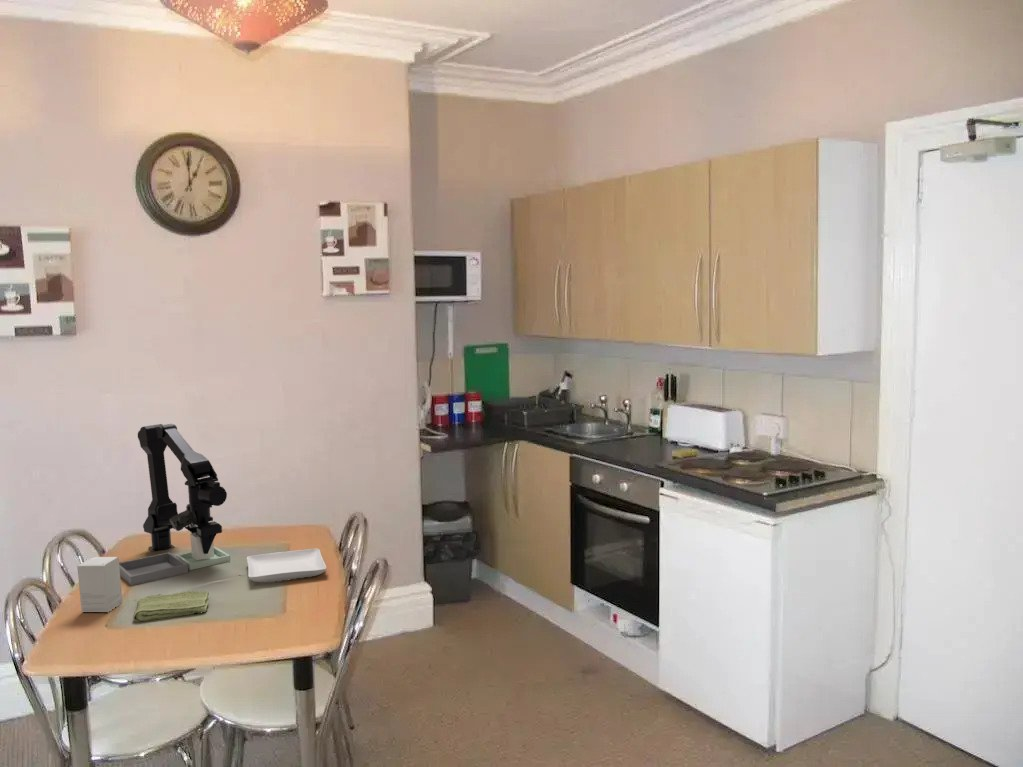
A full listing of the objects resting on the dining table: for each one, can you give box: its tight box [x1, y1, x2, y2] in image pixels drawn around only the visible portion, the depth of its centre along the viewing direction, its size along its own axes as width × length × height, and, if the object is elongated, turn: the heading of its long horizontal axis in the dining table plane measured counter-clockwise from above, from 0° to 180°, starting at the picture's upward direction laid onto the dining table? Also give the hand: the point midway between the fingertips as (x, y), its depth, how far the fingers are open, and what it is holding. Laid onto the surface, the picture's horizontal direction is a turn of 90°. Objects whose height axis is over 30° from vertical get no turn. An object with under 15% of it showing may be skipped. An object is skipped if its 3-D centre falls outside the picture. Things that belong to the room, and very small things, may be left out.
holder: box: [175, 546, 232, 571], centre depth 257 cm, size 12×12×2 cm
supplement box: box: [76, 556, 123, 613], centre depth 221 cm, size 7×7×13 cm
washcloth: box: [132, 590, 209, 623], centre depth 219 cm, size 13×18×3 cm
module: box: [189, 533, 215, 560], centre depth 256 cm, size 5×5×7 cm
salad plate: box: [246, 548, 327, 583], centre depth 247 cm, size 21×21×3 cm
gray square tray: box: [119, 551, 189, 586], centre depth 247 cm, size 16×16×3 cm
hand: (202, 551), depth 257 cm, fingers closed on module, 5 cm apart
